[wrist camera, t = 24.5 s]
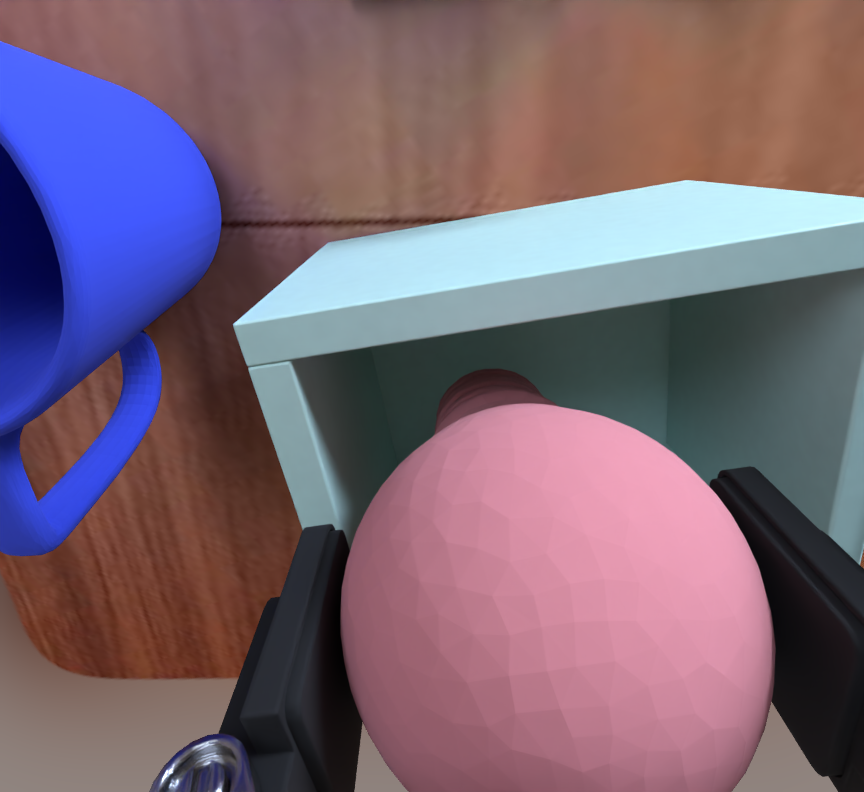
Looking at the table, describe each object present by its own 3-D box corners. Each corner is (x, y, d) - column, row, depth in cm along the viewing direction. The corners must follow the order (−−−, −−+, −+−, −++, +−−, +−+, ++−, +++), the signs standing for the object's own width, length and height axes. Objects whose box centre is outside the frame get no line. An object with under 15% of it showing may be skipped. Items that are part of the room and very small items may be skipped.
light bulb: (464, 247, 15) (557, 493, 4) (645, 374, 17) (1052, 788, 6) (342, 427, 17) (196, 881, 7) (510, 522, 19) (616, 1008, 8)
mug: (79, 405, 21) (-177, 589, 12) (-30, 60, 16) (-601, -56, 7) (278, 405, 21) (169, 589, 12) (232, 61, 16) (-13, -52, 7)
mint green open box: (386, 488, 23) (359, 698, 14) (326, 242, 19) (231, 324, 10) (677, 447, 22) (843, 643, 13) (688, 179, 18) (947, 205, 9)
